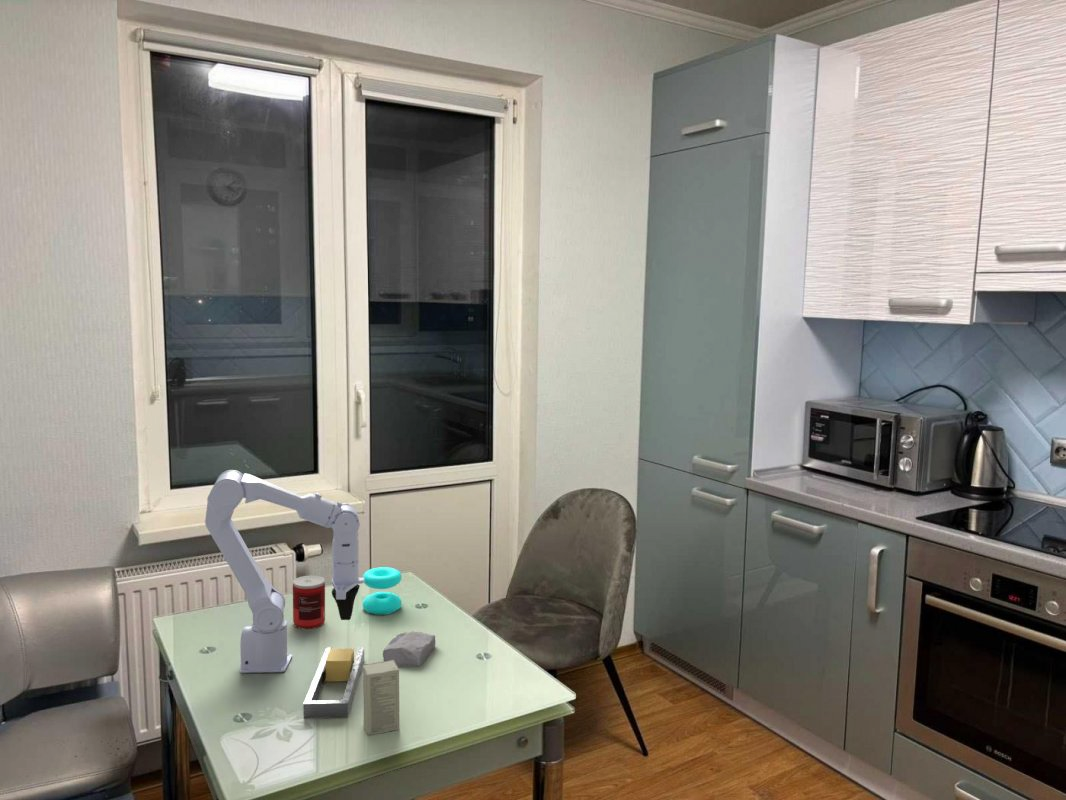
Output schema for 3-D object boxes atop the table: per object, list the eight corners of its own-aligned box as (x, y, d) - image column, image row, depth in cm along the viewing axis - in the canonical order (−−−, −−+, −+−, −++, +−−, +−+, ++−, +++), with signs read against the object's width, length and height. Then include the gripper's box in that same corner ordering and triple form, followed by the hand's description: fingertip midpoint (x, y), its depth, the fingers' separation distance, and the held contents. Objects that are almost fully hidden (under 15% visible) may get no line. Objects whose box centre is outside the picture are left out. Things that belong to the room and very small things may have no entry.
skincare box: (395, 718, 155) (395, 659, 153) (400, 730, 150) (400, 669, 149) (362, 724, 152) (362, 663, 151) (366, 736, 148) (366, 674, 147)
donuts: (356, 576, 204) (372, 564, 214) (356, 613, 206) (372, 599, 215) (392, 580, 202) (407, 567, 212) (392, 618, 203) (407, 603, 213)
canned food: (311, 614, 204) (310, 573, 203) (332, 622, 200) (331, 579, 198) (286, 623, 198) (285, 581, 197) (307, 632, 194) (306, 588, 192)
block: (325, 681, 169) (325, 661, 168) (330, 668, 174) (330, 648, 174) (349, 681, 169) (349, 660, 168) (353, 668, 175) (353, 648, 174)
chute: (303, 718, 154) (303, 703, 153) (326, 660, 179) (326, 647, 178) (347, 717, 155) (347, 703, 154) (364, 659, 179) (364, 646, 179)
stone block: (380, 671, 178) (422, 667, 176) (376, 650, 178) (418, 646, 176) (399, 651, 190) (439, 647, 188) (396, 631, 190) (435, 627, 188)
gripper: (359, 571, 170) (359, 631, 172) (367, 549, 185) (368, 606, 186) (325, 571, 170) (326, 632, 172) (336, 550, 184) (337, 606, 186)
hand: (345, 618), depth 179 cm, fingers closed
